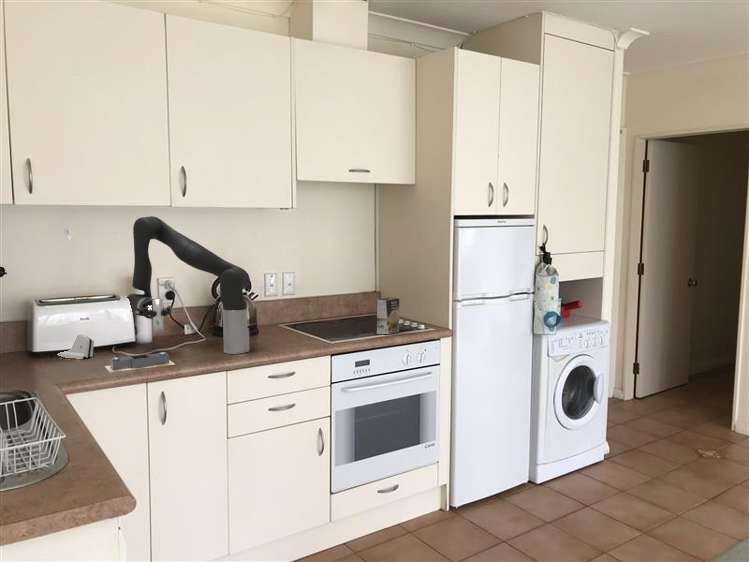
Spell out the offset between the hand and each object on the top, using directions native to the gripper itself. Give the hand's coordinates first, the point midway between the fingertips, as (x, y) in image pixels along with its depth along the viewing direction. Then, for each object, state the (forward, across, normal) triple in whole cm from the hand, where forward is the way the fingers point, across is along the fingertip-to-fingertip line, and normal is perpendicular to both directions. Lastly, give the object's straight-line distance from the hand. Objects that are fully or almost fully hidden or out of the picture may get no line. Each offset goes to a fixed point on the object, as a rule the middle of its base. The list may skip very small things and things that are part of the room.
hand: (160, 313), depth 236 cm
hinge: (-24, -27, +18) cm, 40 cm away
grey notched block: (+6, -9, +17) cm, 20 cm away
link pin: (-3, 0, +7) cm, 8 cm away
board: (+6, -9, +18) cm, 21 cm away
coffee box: (-3, +103, +18) cm, 105 cm away
